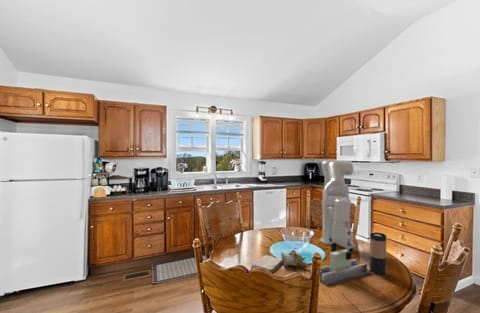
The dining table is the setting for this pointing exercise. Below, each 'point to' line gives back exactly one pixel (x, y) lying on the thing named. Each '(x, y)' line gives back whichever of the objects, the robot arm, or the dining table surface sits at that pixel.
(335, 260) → the door panel
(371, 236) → the travel mug
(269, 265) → the washcloth
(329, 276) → the rail
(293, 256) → the ceramic sculpture
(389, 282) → the dining table surface
